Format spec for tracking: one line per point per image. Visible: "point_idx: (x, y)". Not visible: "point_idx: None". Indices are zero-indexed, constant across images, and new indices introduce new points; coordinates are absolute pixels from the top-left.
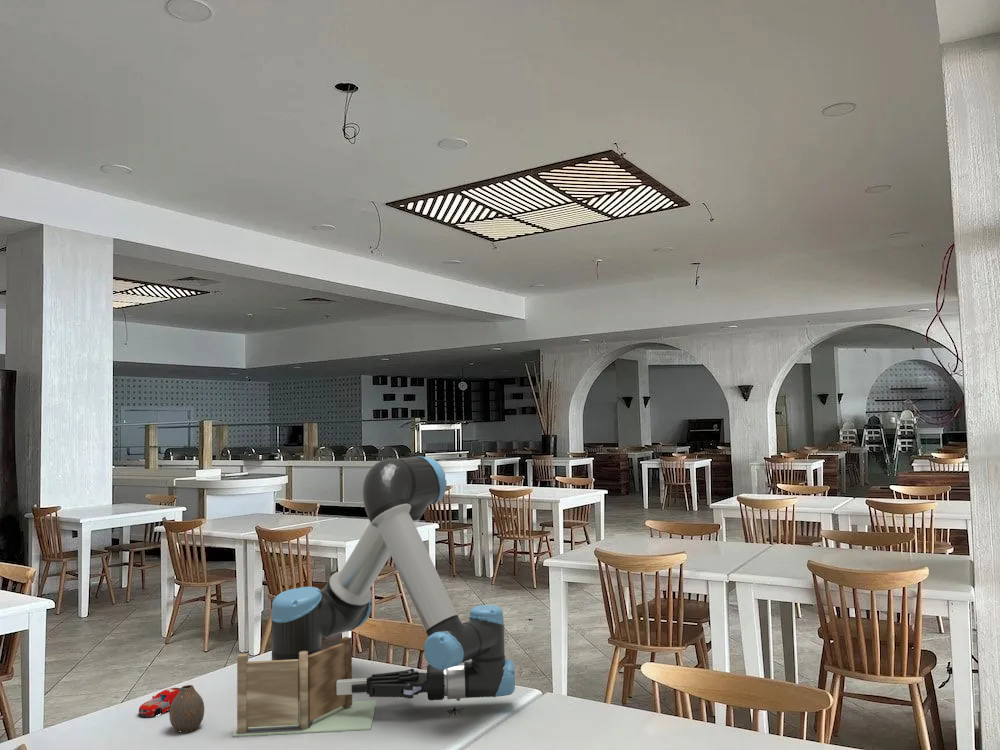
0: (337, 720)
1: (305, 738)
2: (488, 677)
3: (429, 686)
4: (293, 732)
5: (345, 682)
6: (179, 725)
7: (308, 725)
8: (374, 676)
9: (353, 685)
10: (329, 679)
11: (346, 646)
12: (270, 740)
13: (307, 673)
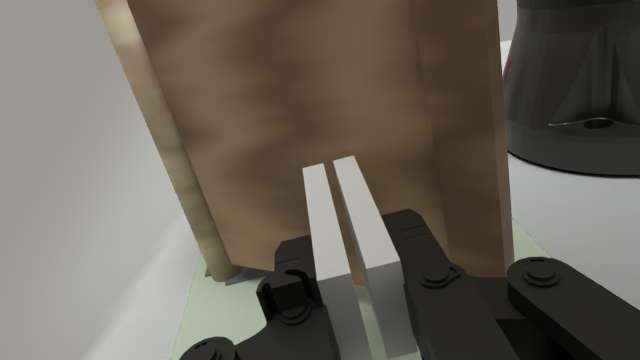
0: None
1: (142, 310)
2: None
3: None
4: (199, 261)
5: (307, 195)
6: None
7: (246, 273)
8: (515, 291)
9: (294, 245)
10: (294, 136)
11: None
12: (170, 241)
13: (135, 73)
